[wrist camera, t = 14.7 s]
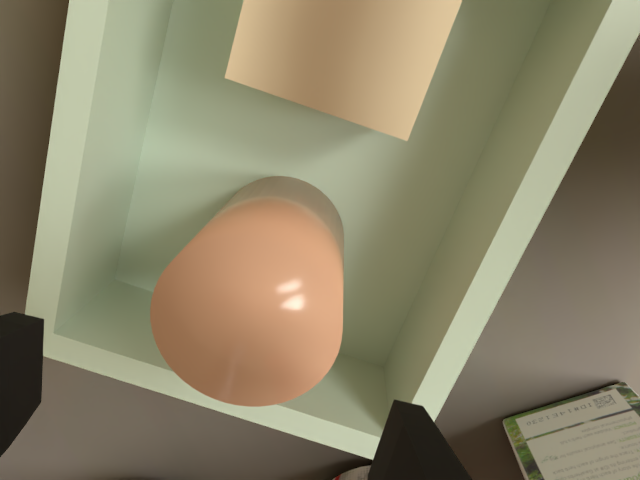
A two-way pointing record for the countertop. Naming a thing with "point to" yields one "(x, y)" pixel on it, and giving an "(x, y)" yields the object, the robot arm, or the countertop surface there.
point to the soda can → (355, 474)
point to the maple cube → (344, 55)
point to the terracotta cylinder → (256, 296)
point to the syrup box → (580, 437)
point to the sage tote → (320, 171)
